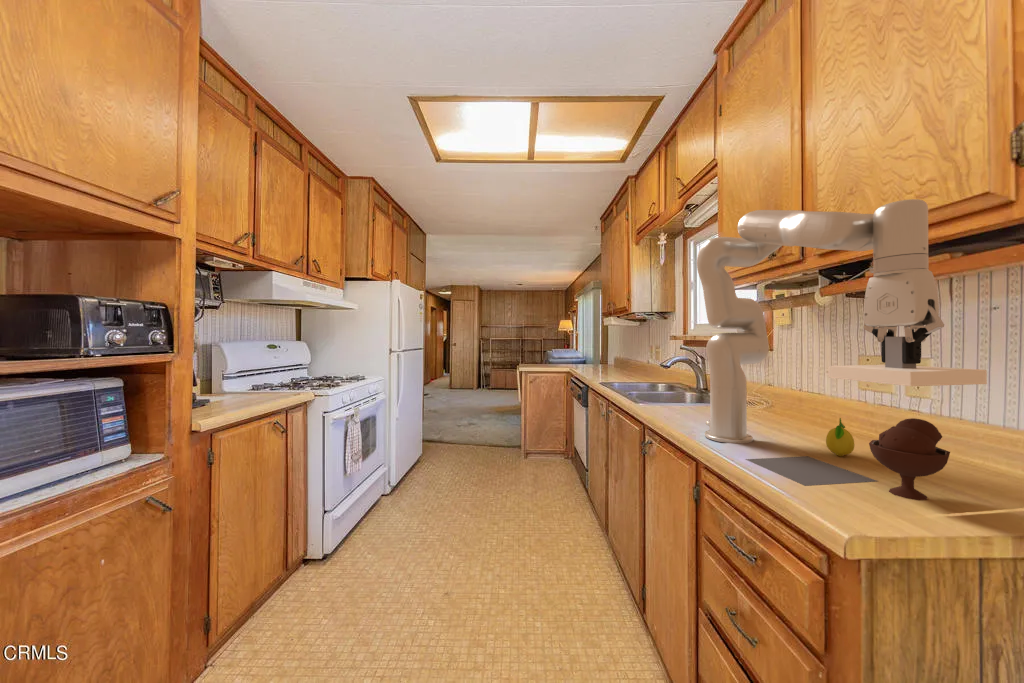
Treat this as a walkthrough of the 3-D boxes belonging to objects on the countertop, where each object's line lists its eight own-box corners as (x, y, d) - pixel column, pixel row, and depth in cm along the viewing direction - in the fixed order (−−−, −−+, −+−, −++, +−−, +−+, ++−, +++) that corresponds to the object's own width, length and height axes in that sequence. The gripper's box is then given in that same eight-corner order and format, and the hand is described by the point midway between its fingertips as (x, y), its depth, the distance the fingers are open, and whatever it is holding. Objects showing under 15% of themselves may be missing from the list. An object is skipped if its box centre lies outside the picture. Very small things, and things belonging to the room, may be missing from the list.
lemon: (840, 452, 102) (841, 414, 101) (863, 459, 96) (863, 419, 96) (817, 453, 101) (817, 415, 101) (838, 461, 95) (838, 420, 95)
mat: (745, 460, 96) (745, 459, 96) (807, 457, 98) (807, 456, 98) (805, 487, 79) (805, 485, 79) (878, 483, 81) (878, 481, 81)
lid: (828, 377, 82) (828, 337, 82) (892, 376, 83) (892, 336, 83) (910, 386, 66) (910, 336, 66) (986, 384, 68) (986, 335, 68)
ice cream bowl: (887, 482, 81) (887, 410, 81) (964, 503, 71) (964, 421, 71) (856, 489, 78) (856, 415, 77) (932, 513, 67) (933, 427, 67)
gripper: (841, 274, 82) (842, 361, 83) (933, 258, 66) (934, 366, 66) (873, 274, 83) (873, 360, 83) (971, 258, 67) (972, 365, 67)
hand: (900, 362), depth 75 cm, fingers closed on lid, 3 cm apart
